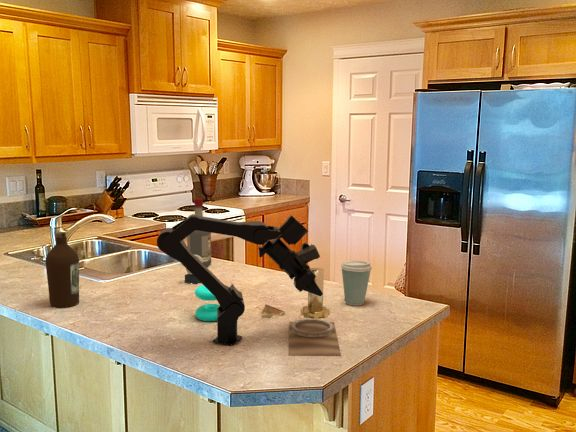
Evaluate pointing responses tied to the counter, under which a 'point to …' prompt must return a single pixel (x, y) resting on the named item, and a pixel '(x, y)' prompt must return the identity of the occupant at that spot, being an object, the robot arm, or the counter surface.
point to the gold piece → (316, 299)
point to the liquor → (200, 238)
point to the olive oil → (62, 274)
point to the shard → (271, 312)
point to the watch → (190, 277)
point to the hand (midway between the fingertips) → (320, 292)
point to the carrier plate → (313, 338)
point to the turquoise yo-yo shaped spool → (208, 310)
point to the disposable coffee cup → (355, 281)
